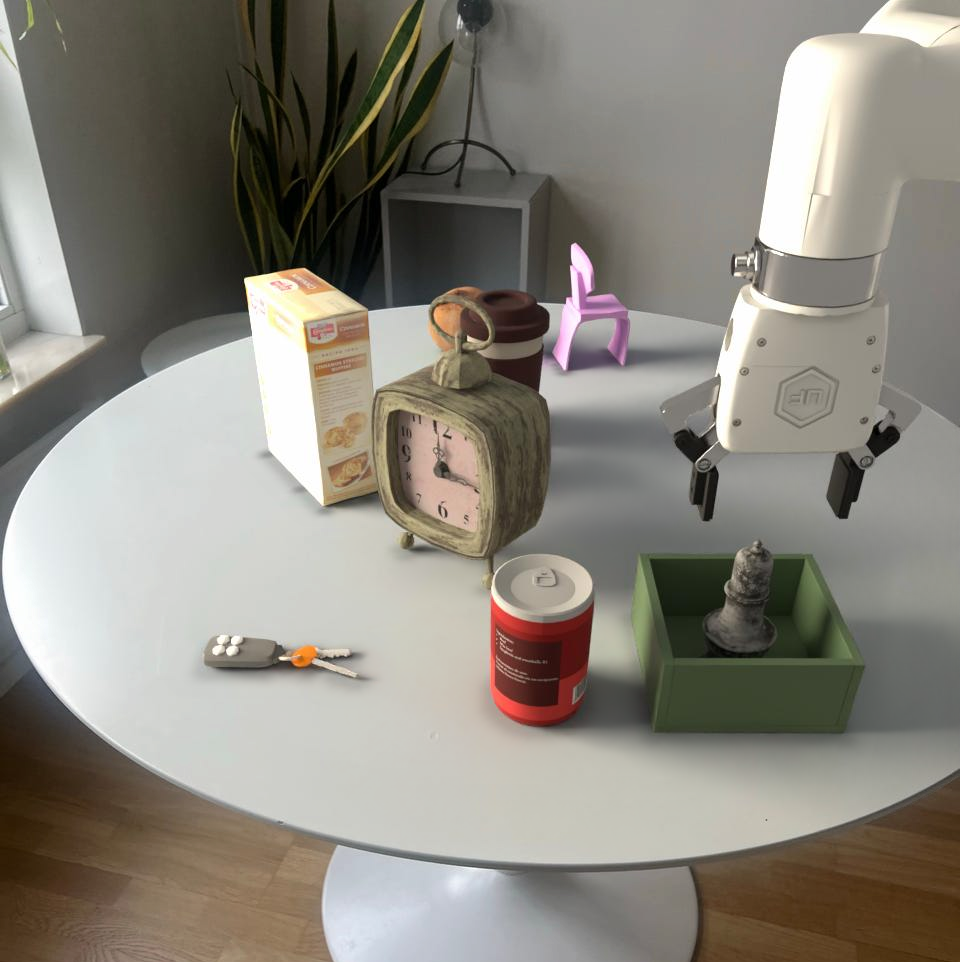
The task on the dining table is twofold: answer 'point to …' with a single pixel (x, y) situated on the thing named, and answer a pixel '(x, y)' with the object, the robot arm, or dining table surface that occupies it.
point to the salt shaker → (743, 609)
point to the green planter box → (742, 681)
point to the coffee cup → (510, 334)
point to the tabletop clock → (461, 450)
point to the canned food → (540, 637)
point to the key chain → (265, 654)
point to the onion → (451, 316)
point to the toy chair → (589, 311)
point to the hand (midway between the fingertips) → (769, 510)
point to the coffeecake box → (315, 381)
